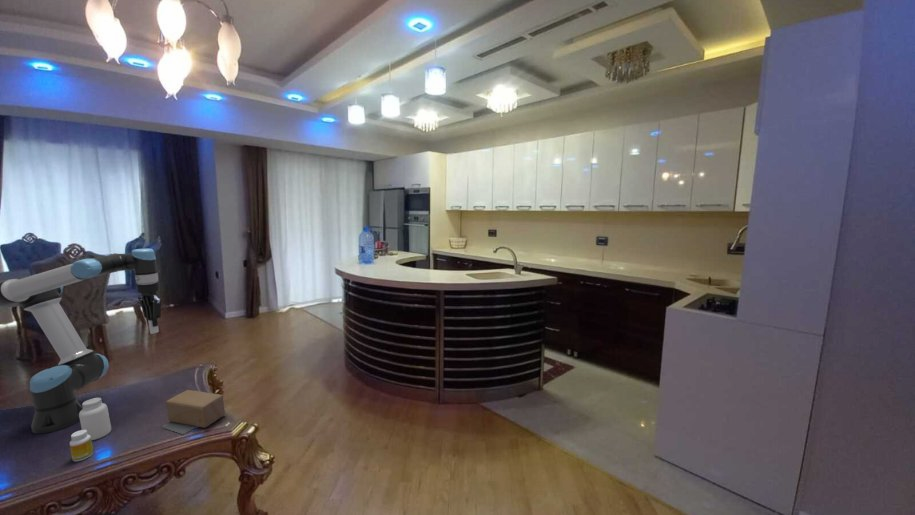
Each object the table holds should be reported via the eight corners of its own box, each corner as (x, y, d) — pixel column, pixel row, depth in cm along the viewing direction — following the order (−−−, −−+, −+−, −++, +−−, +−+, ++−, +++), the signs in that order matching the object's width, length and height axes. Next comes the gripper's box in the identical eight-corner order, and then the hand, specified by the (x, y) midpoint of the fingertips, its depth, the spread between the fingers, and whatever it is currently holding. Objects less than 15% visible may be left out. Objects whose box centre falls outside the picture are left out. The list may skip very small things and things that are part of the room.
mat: (161, 427, 145) (161, 426, 145) (196, 409, 158) (196, 408, 158) (183, 435, 141) (183, 434, 141) (217, 415, 154) (217, 414, 154)
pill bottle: (91, 431, 143) (85, 397, 141) (115, 426, 146) (110, 394, 144) (78, 443, 136) (71, 408, 133) (104, 438, 139) (98, 404, 136)
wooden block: (167, 422, 148) (205, 429, 144) (164, 400, 147) (202, 407, 142) (190, 409, 158) (226, 415, 153) (187, 388, 156) (223, 394, 152)
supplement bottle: (93, 456, 129) (89, 432, 127) (72, 464, 125) (67, 439, 123) (93, 449, 132) (89, 426, 131) (72, 456, 129) (68, 433, 127)
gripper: (128, 283, 155) (136, 333, 158) (146, 285, 150) (154, 337, 154) (148, 280, 162) (155, 328, 165) (166, 282, 157) (172, 331, 161)
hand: (154, 332), depth 159 cm, fingers closed
